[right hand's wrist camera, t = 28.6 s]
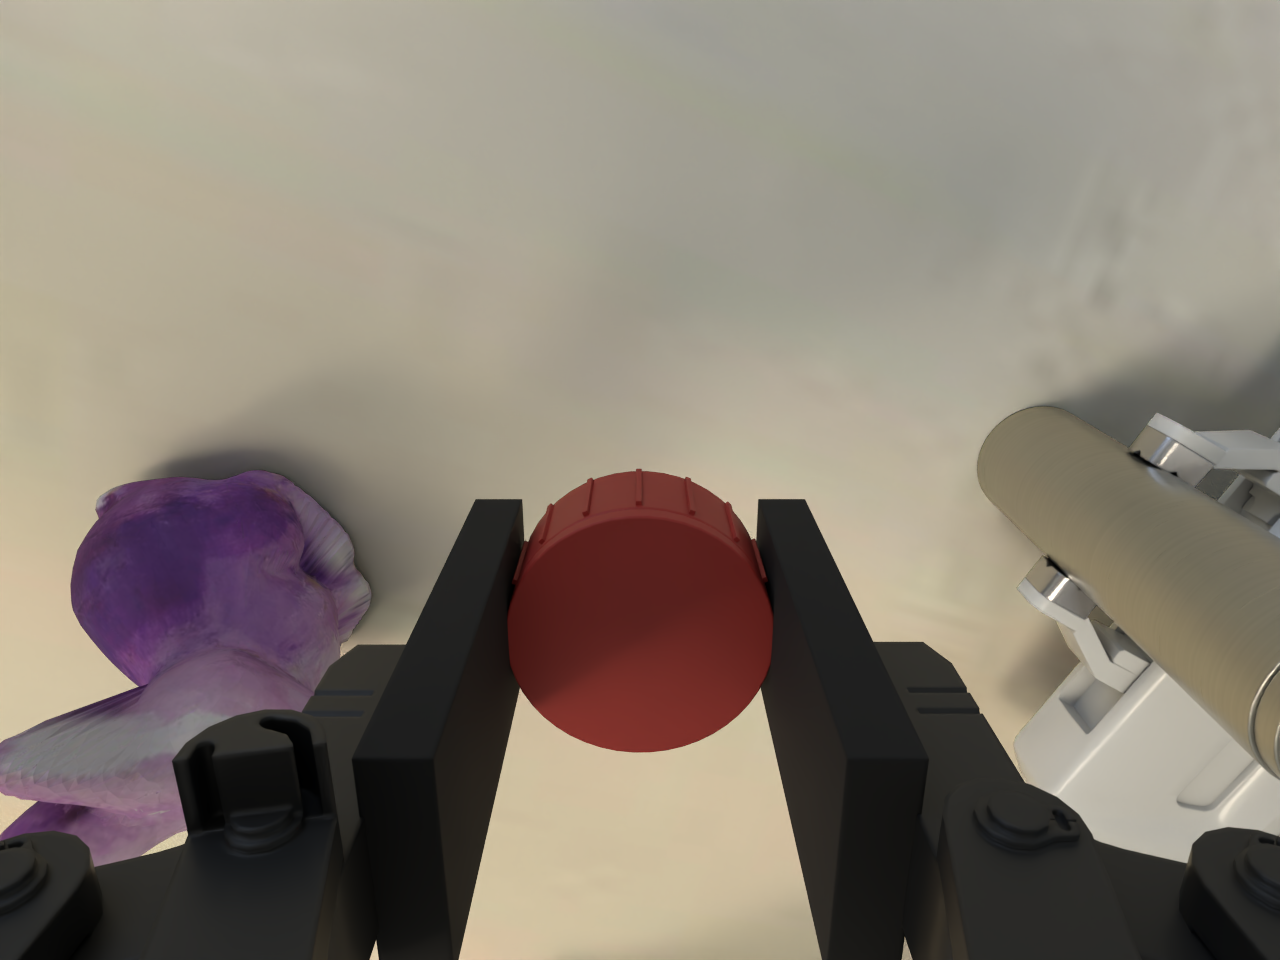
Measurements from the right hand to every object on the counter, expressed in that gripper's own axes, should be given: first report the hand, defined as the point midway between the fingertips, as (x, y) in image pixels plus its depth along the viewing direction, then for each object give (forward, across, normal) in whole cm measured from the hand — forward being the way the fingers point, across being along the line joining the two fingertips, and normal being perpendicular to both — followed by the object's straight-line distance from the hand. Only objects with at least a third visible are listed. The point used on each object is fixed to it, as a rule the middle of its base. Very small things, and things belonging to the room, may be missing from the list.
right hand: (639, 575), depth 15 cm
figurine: (+20, -15, -9) cm, 26 cm away
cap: (-2, 0, 0) cm, 2 cm away
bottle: (+20, +16, -5) cm, 26 cm away
